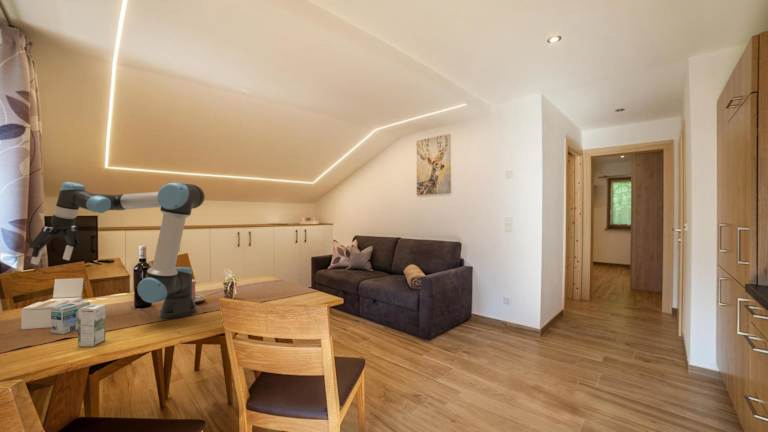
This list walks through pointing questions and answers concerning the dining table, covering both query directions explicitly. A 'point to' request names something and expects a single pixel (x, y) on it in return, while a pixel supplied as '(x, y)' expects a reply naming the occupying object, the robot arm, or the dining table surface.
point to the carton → (42, 313)
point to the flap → (68, 287)
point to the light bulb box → (66, 317)
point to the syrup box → (91, 325)
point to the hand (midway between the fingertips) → (50, 261)
